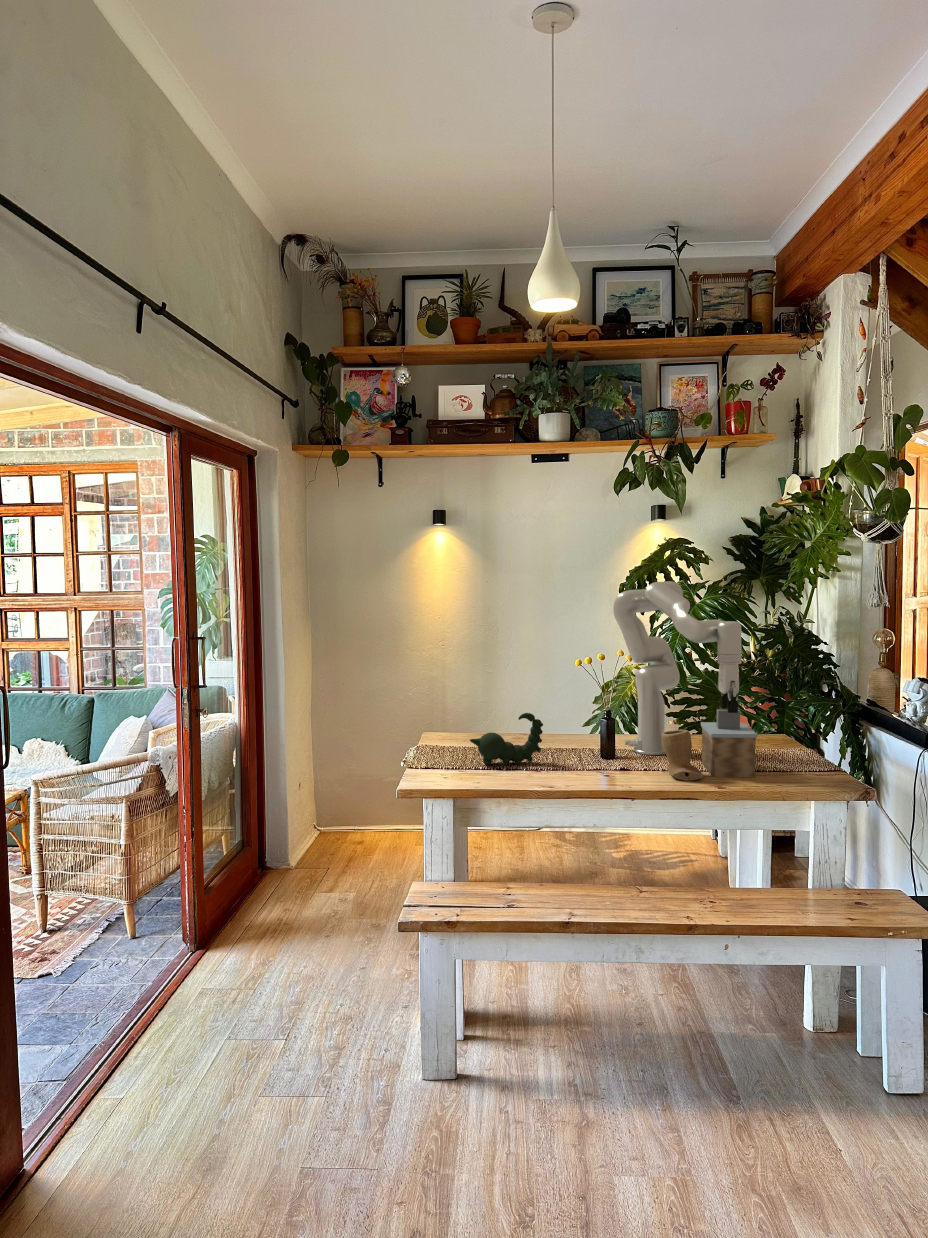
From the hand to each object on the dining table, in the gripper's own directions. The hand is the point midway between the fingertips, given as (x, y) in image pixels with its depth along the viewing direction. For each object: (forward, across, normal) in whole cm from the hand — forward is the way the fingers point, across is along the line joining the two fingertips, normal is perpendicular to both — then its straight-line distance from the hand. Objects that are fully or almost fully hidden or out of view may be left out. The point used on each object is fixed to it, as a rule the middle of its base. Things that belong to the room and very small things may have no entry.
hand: (729, 710), depth 282 cm
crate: (+20, -1, -1) cm, 20 cm away
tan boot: (+20, +8, -17) cm, 28 cm away
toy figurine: (+20, -6, -75) cm, 77 cm away
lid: (+7, 0, 0) cm, 7 cm away
